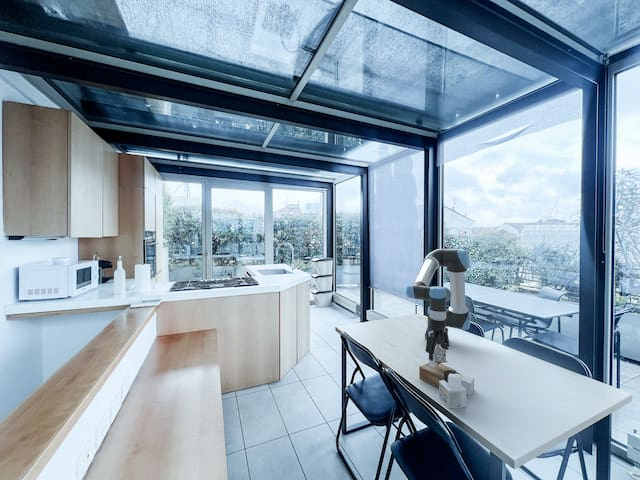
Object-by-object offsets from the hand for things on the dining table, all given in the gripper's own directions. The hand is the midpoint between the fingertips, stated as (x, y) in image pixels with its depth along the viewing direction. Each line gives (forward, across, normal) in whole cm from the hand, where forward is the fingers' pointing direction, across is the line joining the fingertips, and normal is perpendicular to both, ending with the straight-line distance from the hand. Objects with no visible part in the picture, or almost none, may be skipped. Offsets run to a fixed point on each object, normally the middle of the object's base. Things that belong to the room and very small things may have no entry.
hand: (437, 364), depth 129 cm
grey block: (+8, -3, +12) cm, 15 cm away
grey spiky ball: (+1, 0, 0) cm, 1 cm away
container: (+8, +10, +14) cm, 19 cm away
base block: (+8, 0, 0) cm, 8 cm away
